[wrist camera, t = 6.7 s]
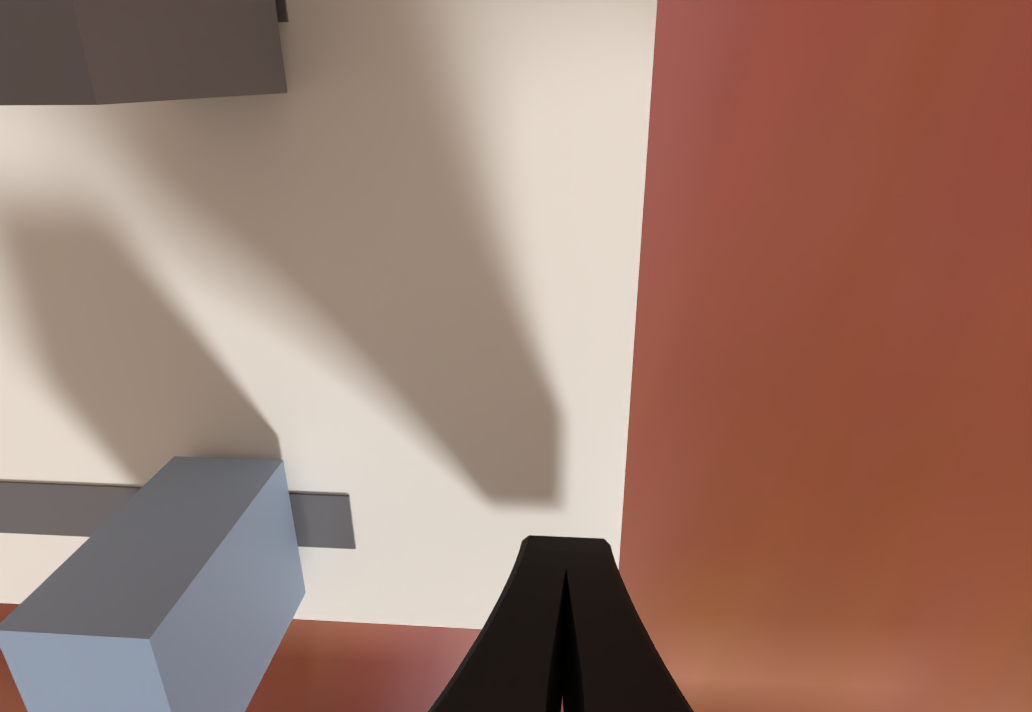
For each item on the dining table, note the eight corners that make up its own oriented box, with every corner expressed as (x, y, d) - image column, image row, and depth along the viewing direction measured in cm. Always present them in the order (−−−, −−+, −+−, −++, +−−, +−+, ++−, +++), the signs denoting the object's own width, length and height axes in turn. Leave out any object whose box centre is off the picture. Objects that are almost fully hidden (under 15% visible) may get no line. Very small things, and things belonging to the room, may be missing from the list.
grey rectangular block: (305, 592, 13) (198, 801, 9) (206, 587, 13) (61, 790, 9) (283, 459, 12) (149, 639, 8) (174, 455, 12) (-8, 630, 8)
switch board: (608, 567, 15) (615, 661, 12) (-241, 526, 16) (-380, 604, 14) (661, -311, 9) (695, -453, 7) (-675, -244, 10) (-1042, -336, 8)
